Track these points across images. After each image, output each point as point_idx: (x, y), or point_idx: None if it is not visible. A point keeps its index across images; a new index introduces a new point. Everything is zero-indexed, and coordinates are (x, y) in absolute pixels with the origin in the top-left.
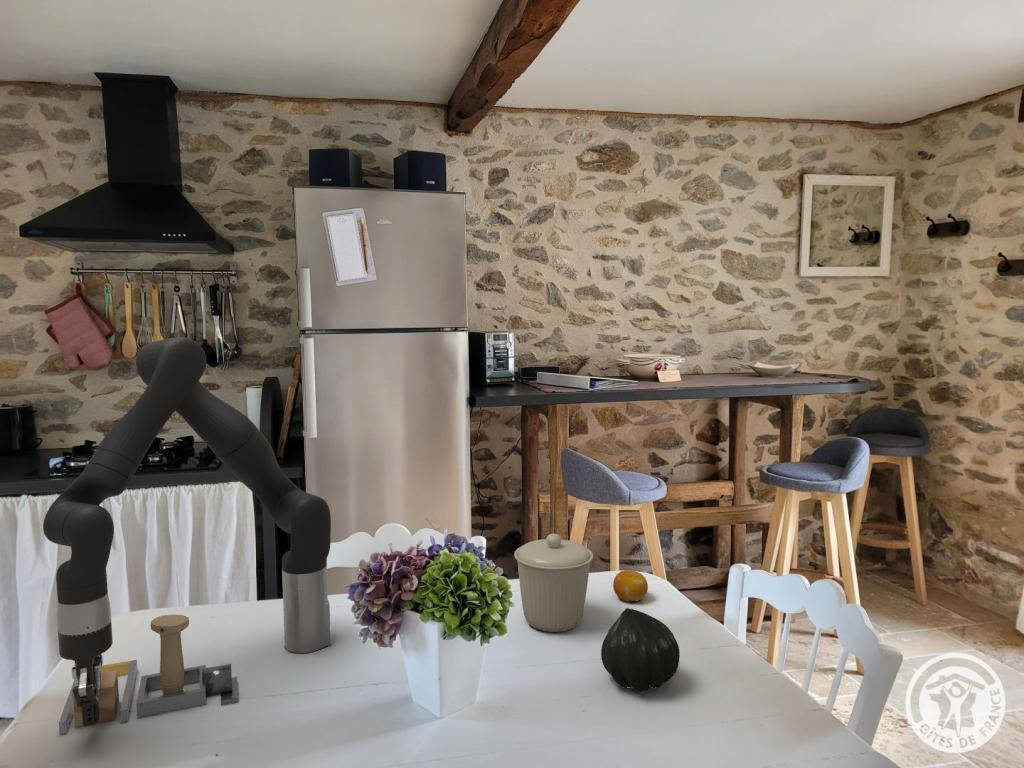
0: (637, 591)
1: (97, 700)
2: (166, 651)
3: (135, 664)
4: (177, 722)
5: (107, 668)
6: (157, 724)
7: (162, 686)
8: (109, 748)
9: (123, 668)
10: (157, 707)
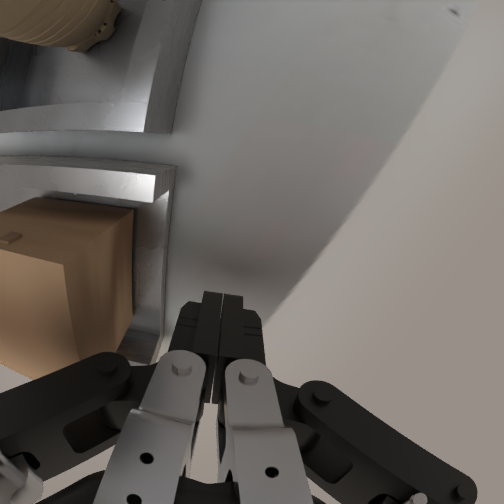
0: None
1: (246, 366)
2: None
3: None
4: (232, 17)
5: None
6: (204, 72)
7: (66, 35)
8: (273, 226)
9: None
10: (170, 54)
